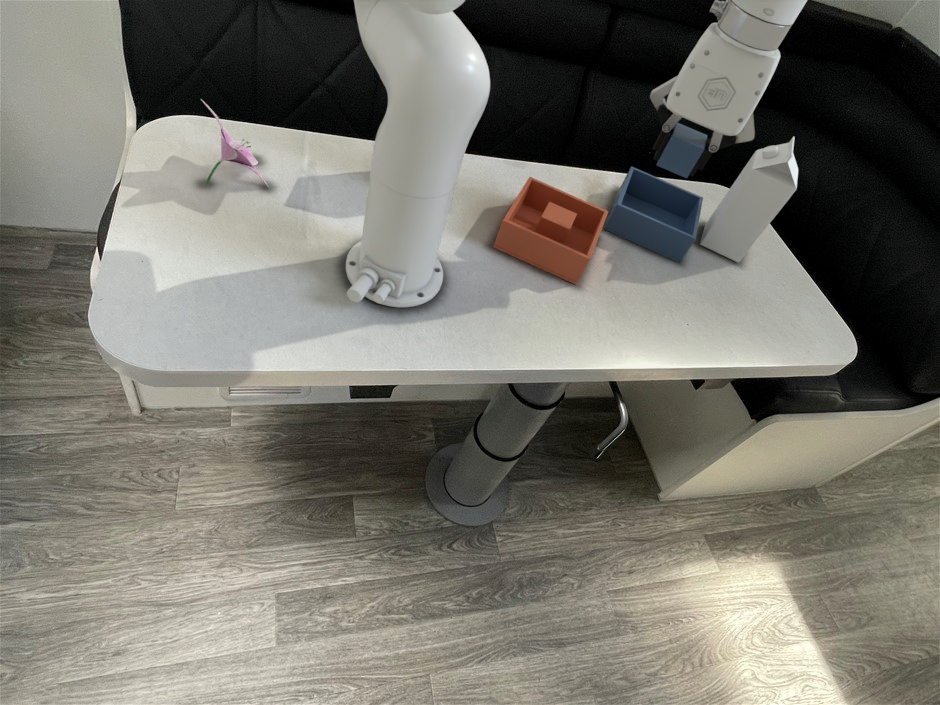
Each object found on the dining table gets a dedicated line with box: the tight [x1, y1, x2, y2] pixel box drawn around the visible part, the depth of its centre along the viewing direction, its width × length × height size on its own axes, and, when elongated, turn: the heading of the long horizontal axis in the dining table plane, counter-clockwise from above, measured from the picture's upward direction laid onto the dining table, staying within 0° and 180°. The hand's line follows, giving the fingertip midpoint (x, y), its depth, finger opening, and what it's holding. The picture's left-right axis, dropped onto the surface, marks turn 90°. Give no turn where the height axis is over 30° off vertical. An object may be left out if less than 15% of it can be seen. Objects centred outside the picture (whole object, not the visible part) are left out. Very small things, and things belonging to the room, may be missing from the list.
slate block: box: [656, 122, 708, 179], centre depth 80 cm, size 4×4×4 cm
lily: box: [200, 98, 269, 187], centre depth 78 cm, size 12×12×10 cm
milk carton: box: [699, 136, 799, 264], centre depth 94 cm, size 7×7×19 cm
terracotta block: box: [535, 202, 577, 244], centre depth 87 cm, size 4×4×4 cm
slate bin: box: [603, 166, 704, 264], centre depth 97 cm, size 13×13×5 cm
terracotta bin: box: [493, 176, 609, 286], centre depth 87 cm, size 13×13×5 cm
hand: (674, 162), depth 81 cm, fingers closed on slate block, 4 cm apart
